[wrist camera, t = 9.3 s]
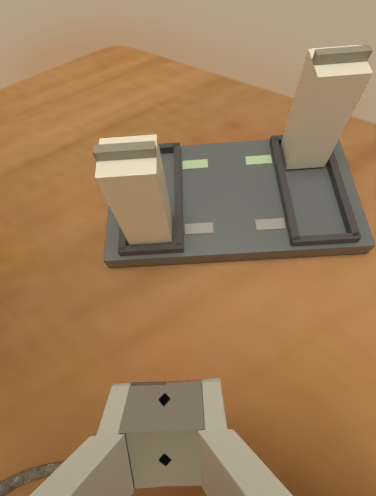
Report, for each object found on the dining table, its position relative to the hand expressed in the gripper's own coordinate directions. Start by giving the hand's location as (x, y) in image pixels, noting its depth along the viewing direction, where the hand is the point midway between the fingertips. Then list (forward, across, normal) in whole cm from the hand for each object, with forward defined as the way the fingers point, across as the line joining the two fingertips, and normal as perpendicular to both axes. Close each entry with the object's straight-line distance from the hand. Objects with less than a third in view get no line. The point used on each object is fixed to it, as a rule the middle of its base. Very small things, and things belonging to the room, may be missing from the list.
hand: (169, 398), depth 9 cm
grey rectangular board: (+22, +4, +1) cm, 22 cm away
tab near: (+18, -2, 0) cm, 18 cm away
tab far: (+23, +12, +5) cm, 26 cm away
